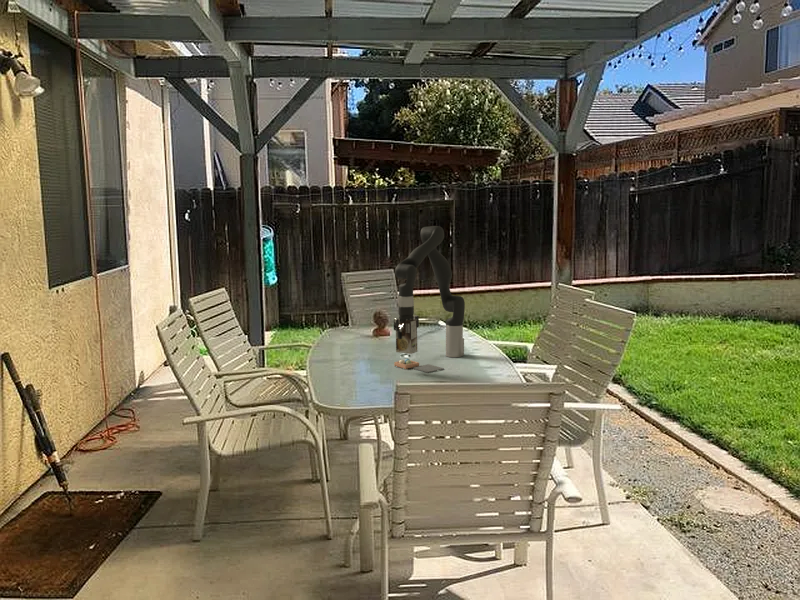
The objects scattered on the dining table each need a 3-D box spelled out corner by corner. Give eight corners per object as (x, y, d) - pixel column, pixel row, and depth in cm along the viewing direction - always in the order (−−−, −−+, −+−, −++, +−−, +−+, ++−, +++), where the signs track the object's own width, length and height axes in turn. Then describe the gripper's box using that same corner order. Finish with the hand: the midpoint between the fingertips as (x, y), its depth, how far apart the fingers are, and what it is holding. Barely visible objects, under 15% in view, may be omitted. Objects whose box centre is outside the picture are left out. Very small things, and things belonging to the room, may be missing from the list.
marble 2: (407, 363, 356) (407, 357, 356) (411, 364, 354) (411, 358, 353) (403, 364, 354) (403, 358, 354) (406, 365, 352) (406, 359, 351)
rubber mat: (428, 365, 354) (428, 364, 354) (444, 369, 345) (444, 368, 345) (412, 368, 347) (412, 367, 347) (427, 372, 338) (427, 371, 338)
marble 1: (402, 364, 354) (402, 358, 353) (406, 365, 351) (406, 359, 351) (397, 365, 352) (397, 359, 352) (401, 366, 350) (401, 360, 349)
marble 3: (409, 365, 352) (409, 359, 352) (412, 366, 350) (412, 360, 350) (404, 365, 350) (404, 360, 350) (408, 367, 348) (408, 361, 348)
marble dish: (408, 363, 358) (408, 359, 358) (419, 366, 351) (419, 362, 350) (394, 366, 352) (394, 362, 352) (405, 369, 345) (405, 365, 345)
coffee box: (417, 351, 340) (417, 319, 338) (411, 354, 334) (411, 321, 332) (402, 349, 344) (401, 318, 342) (395, 352, 339) (395, 320, 337)
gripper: (412, 302, 343) (412, 334, 346) (389, 305, 335) (390, 338, 337) (422, 304, 337) (422, 337, 340) (399, 307, 329) (399, 340, 331)
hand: (406, 337), depth 338 cm, fingers closed on coffee box, 8 cm apart
